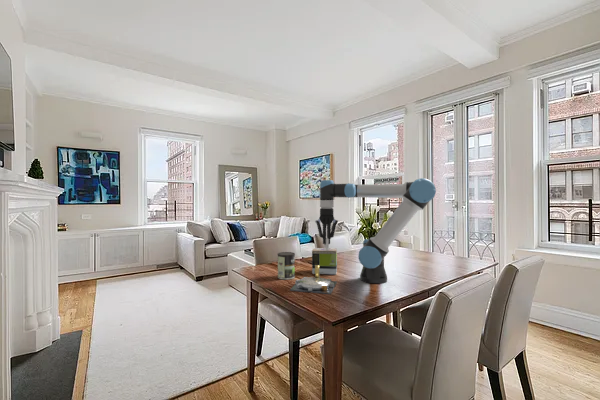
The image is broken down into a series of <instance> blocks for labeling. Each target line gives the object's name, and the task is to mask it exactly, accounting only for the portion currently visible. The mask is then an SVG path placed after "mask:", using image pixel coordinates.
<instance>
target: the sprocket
mask: <svg viewBox="0 0 600 400" xmlns="http://www.w3.org/2000/svg"><path fill="white" fill-rule="evenodd" d="M331 281H332V278H324V277H321V276H320V274H319V265H315V274H314V276H312V277H311V276H310V277H308V276H304V277H303V278H299V279H296V280H295V281H294V282H295V283H294V285H295V284H297V288H303V289H308V291H312V290H324V291H325V290H327V288H329V287H334V283H333V282H331ZM334 288H335V287H334Z"/></svg>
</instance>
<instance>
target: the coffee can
mask: <svg viewBox="0 0 600 400" xmlns="http://www.w3.org/2000/svg"><path fill="white" fill-rule="evenodd" d="M295 257H296V254H295V252H291V251H283V252H282V251H281V252H278V253H277V279H279V280H294V279H295V277H296V275H295V273H296V272H295V271H296V267H295V266H296V265H295V262H296V261H295V260H296V258H295Z"/></svg>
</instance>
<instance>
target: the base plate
mask: <svg viewBox="0 0 600 400" xmlns="http://www.w3.org/2000/svg"><path fill="white" fill-rule="evenodd" d="M331 282H333V283H334V287H329V288H327V290H325V291H324V290H312V291H308V289H303V288H297V284H295V283H294V284H293V286H291V288H290V289H289V292H301V293H310V294H311V293H312V294H313V293H314V294H322V295H323V294H324V295H332V293H333V291H334V289H335V287H336V285H337V283H338V281H336V280H335V281H334V280H331Z"/></svg>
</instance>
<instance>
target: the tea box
mask: <svg viewBox="0 0 600 400" xmlns="http://www.w3.org/2000/svg"><path fill="white" fill-rule="evenodd" d="M315 265H319V275H337V273H338V249H337V248H332V247H331V248H329V251H326V250H324V248H323V247H322V248H321V247H314V248H313V249H312V250H311V273H312V274H314V275H315Z"/></svg>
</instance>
